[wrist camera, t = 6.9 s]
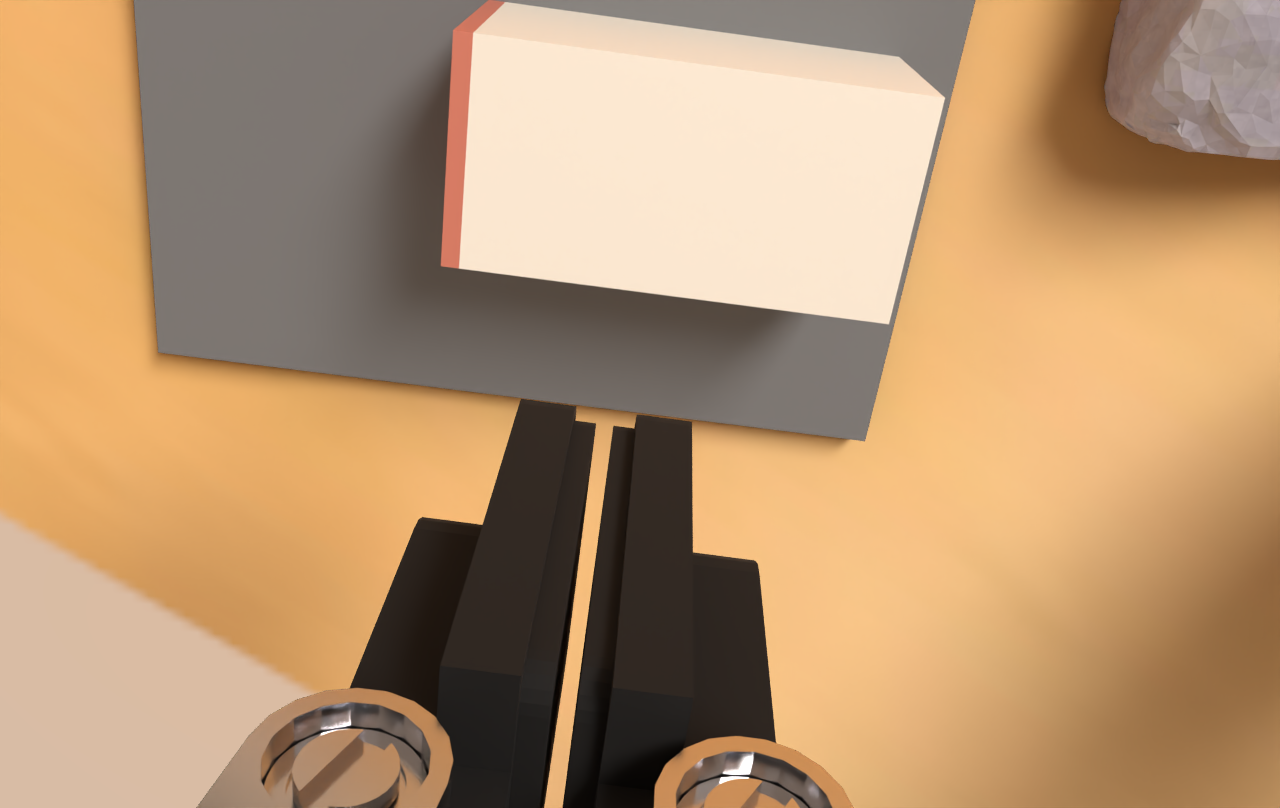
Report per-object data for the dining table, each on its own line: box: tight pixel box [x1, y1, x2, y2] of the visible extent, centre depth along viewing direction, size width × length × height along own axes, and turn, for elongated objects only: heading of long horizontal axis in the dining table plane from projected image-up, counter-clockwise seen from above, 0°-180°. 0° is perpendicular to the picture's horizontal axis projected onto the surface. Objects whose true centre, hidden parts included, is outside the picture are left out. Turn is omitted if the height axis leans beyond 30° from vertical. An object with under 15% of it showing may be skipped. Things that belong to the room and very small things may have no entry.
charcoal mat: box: [134, 0, 975, 441], centre depth 28 cm, size 20×16×1 cm
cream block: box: [441, 0, 945, 324], centre depth 26 cm, size 5×5×10 cm
